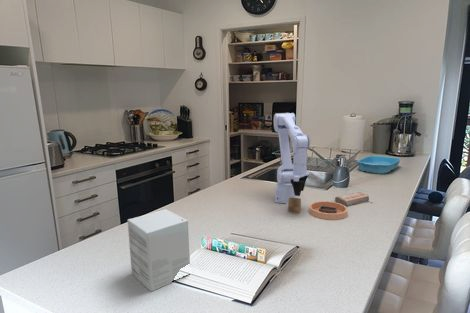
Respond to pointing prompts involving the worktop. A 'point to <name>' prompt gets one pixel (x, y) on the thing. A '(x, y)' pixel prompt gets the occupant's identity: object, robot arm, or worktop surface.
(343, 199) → the packaged product
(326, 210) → the hinged hatch frame
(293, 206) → the wood hatch door
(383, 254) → the worktop surface
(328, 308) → the worktop surface
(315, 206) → the orange round shallow bowl
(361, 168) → the casserole dish
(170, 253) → the supplement box
